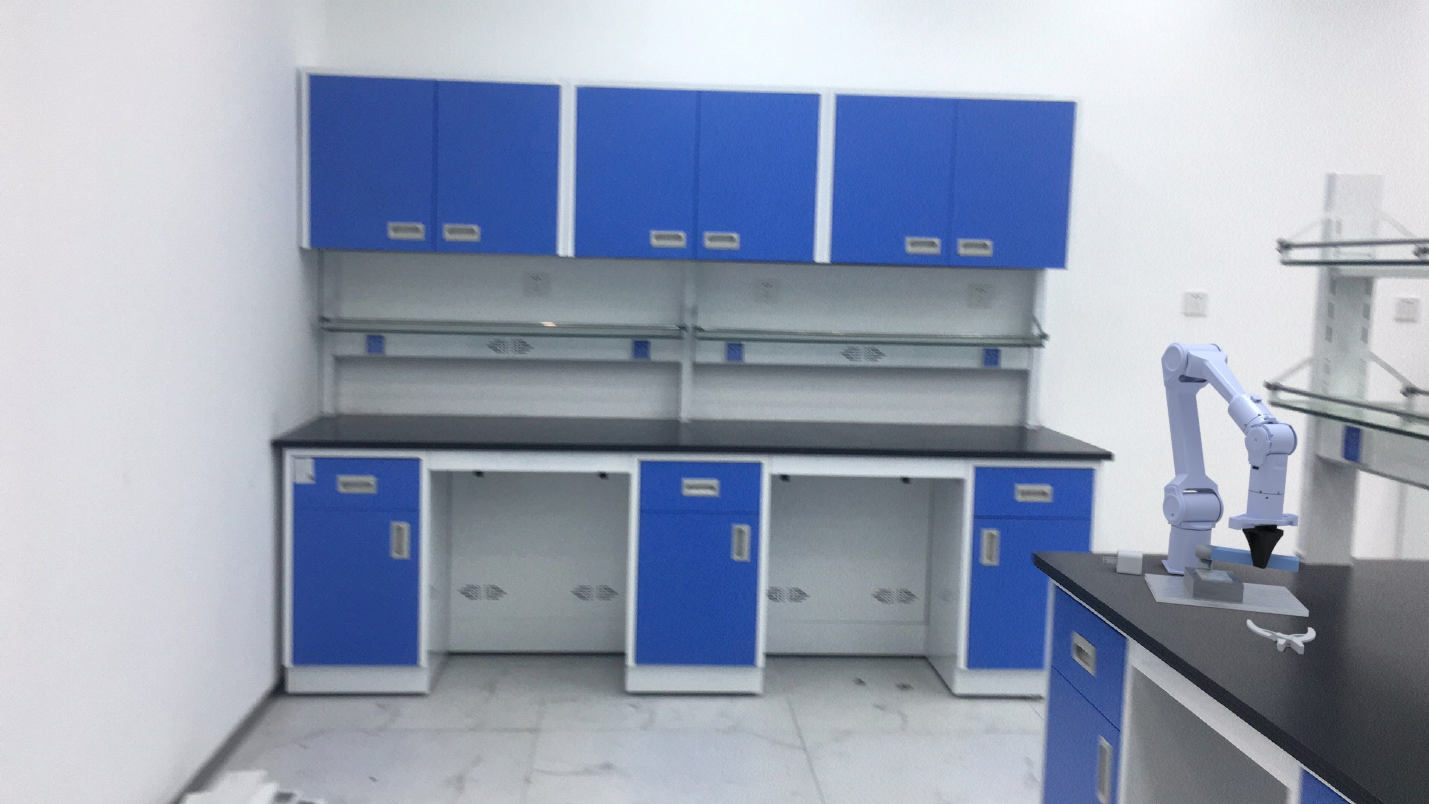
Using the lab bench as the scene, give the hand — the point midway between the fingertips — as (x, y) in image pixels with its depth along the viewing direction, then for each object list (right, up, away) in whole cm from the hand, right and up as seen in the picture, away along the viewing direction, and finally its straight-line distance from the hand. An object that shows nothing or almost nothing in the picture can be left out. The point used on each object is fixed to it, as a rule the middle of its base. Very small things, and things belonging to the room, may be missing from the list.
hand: (1259, 567), depth 196 cm
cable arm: (-1, 0, +4) cm, 4 cm away
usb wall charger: (-18, -4, +17) cm, 25 cm away
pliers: (-7, -8, -22) cm, 25 cm away
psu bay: (-6, -5, +1) cm, 8 cm away
